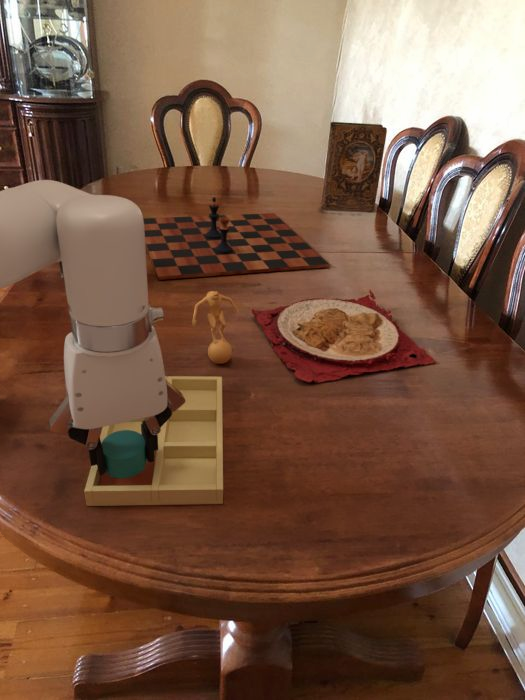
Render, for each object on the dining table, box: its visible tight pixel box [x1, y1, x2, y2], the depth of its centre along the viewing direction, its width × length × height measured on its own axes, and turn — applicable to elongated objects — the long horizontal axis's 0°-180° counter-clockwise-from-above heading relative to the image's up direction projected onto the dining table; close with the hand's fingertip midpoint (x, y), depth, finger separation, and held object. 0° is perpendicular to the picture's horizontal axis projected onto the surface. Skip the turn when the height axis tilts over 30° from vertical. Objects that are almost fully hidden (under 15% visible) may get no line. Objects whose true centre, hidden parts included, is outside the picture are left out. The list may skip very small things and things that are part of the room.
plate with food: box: [251, 289, 437, 384], centre depth 94 cm, size 24×26×4 cm
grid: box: [83, 375, 224, 507], centre depth 69 cm, size 15×23×2 cm
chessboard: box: [143, 197, 330, 281], centre depth 131 cm, size 40×40×11 cm
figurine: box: [191, 290, 241, 365], centre depth 84 cm, size 8×6×12 cm
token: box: [101, 430, 147, 479], centre depth 61 cm, size 5×5×3 cm
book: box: [320, 121, 388, 213], centre depth 161 cm, size 16×6×25 cm, turn 92°
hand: (124, 459), depth 62 cm, fingers closed on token, 4 cm apart
